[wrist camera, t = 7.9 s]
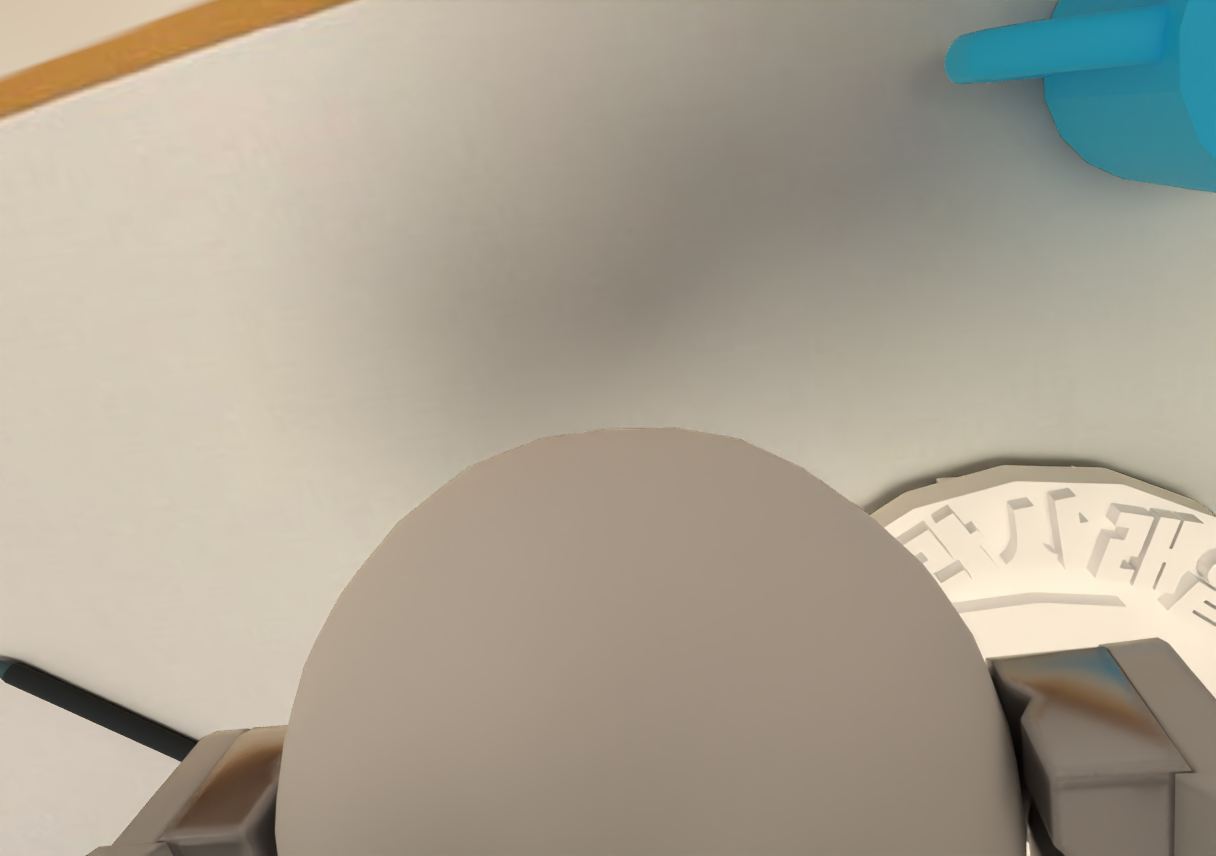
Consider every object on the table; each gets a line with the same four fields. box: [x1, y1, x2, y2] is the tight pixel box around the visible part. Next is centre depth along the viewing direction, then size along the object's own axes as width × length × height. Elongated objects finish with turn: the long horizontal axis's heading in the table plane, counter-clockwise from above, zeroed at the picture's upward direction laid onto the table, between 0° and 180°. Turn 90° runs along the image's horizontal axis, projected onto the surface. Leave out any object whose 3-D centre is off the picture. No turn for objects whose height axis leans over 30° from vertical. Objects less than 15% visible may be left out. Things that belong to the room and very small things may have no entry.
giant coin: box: [870, 465, 1216, 856], centre depth 32 cm, size 20×20×3 cm
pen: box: [0, 660, 197, 762], centre depth 40 cm, size 1×16×1 cm, turn 66°
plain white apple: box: [275, 427, 1027, 856], centre depth 8 cm, size 7×7×8 cm
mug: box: [945, 0, 1216, 193], centre depth 21 cm, size 12×8×8 cm
